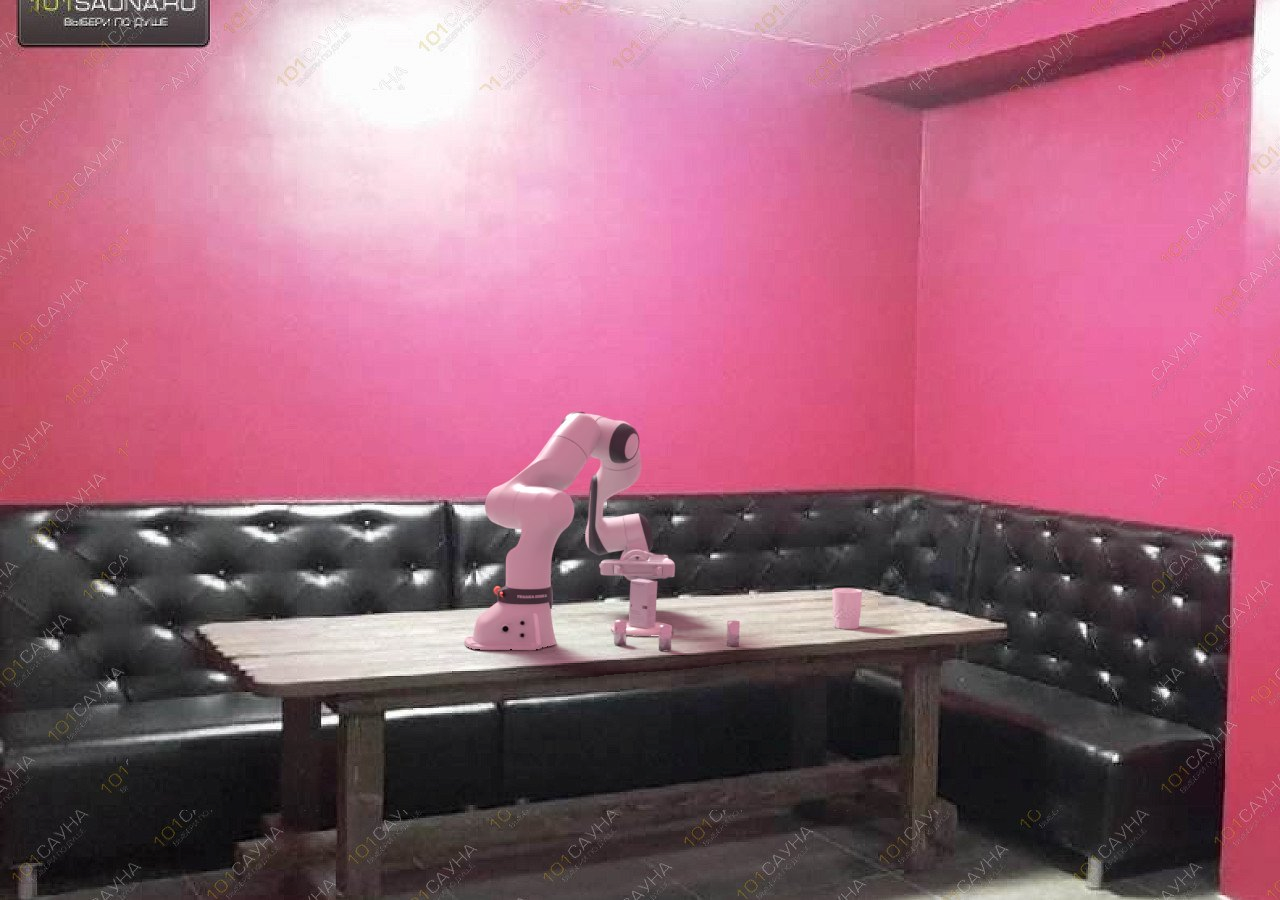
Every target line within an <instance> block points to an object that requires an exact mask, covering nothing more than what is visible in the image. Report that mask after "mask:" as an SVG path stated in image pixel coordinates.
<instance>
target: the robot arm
mask: <svg viewBox="0 0 1280 900" xmlns="http://www.w3.org/2000/svg"><path fill="white" fill-rule="evenodd" d="M559 425H560V426H559V427H557V428H556V430H555V431H554V432H553V434H552V435H551V437H550V438H549V439H548V440H547V443H545V444H544V446H543V447H542V449H541V451H540V452H539V453H538V455H537V456H536V457H535V458H534V460H533V461H532V462H531V463H529V465H527V466H526V467H525V468H524V469H523V470H522V471H519V473H518V474H517V475H515V476H514V477H512V478H511V479H509V480H508V481H506V482H503V484H500V485H498V486H495V487H493V488H492V489H491V490H490V491H489V492H488V494H487V496H486V498H485V502H484V503H485V504H484V509H485V515H486V516H487V518H488V520H490V521H491V522H492V523H494V524H496V525H498V526H501V527H502V528H506V529H512V530H513V529H514V530H521V532H520V538H519V541H518V543H517V544H516V546H515V547H513V548H511V549H510V550H509V551H508V552H507V555H506V557H505V585H504V586H502V587H500V586H498V585H497V586H495V587H494V588H493V593H494V594H495V595H496V598H497V601H496V603H494V604H493V605H492V606H490V607H489V608H487V610H485V611H483V613H481V614H480V615H479V616H477V618H476V620H475V623H474V628H473V635H469V636H466V637H465V638H464V642H463V643H465V644H464V645H465V647H466V648H468V647H469V649H471V648H472V650H475V649H480V650H479V651H537V650H536V649H538V650H540V649H543V648H548V647H551V646H554V645H556V644H557V639H556V637H555V632H554V626H553V620H552V619H553V618H552V607H553V605H554V604H553V602H554V601H553V597H554V595H553V586H552V585H551V583H552V582H551V581H552V578H551V577H552V576H551V575H552V573H551V572H552V558H553V552H554V548H555V545H556V543H557V541H558V539H559V538H560V535H562V533H563V532H565V530H566V529H567V528H569V526H570V525H571V523H572V522H573V520H574V515H575V505H574V502H573V499H572V497H571V496H570V494H568V493H567V492H564V491H565V490H566V489H568V488H569V487H570V486H572V484H573V483H574V482H575V480H576V479H577V477H578V476H579V474H581V471H582V470H583V468H584V467H585V465H586V463H587V462H588V460H589V459H590V457H591V458H593V459H596V460H599V461H600V465H599V467H598V470H597V472H596V473H595V474H594V475H592V477H591V479H590V484H589V493H588V506H587V507H588V508H587V510H588V511H587V521H586V528H585V531H584V532H585V535H584V536H585V537H584V538H585V544H586V546H587V549H588V550H589V551H590V552H592V553H593V554H595V555H597V556H602V555H606V554H610V553H613V552H614V553H615V552H620V551H622V553H621V555H620V557H619V559H603V560H602V561H601V562H600V563H599V565H598V567H599V568H600V575H602V576H617V577H618V576H624V578H625V579H626V580H628V581H630V582H631V580H635V579H646V580H657V579H658V580H659V579H660V580H662V579H668V578H674V577H675V572H676V565H675V564H676V563H675V562H674V561H673V560H672V559H671V558H669V556H668V555H667V554H663V553H662V554H661V553H654V552H651V550H652V548H653V546H654V541H653V540H654V539H653V533H652V529H651V525H650V523H649V521H648V519H647V518H646V516H644V515H643V514H641V513H633V514H632V513H631V514H625V515H620V516H619V515H618V516H614V517H609V518H608V517H607V518H605V517H603V516H604V514H603V513H604V504H605V502H606V501H607V500H608V499H610V498H611V497H612V496H615V495H616V494H618V493H620V492H622V491H625V490H627V489H629V488H630V487H631V486H633V485H634V484H635V483H636V482H637V481H638V479H640V476H641V473H642V455H641V450H640V436H639V433H638V432H637V430H636V428H634V427H633V426H632V424H630V423H628V422H627V421H625V420H614V419H611V418H608V417H606V416H603V415H598V414H591V413H586V412H584V411H573V412H570V413H568V414H567V415H566V416H564V418H563V420H562V421H561V423H560V424H559ZM547 646H548V647H547ZM542 647H543V648H542ZM510 649H512V650H510Z"/></svg>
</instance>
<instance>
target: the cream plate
mask: <svg viewBox="0 0 1280 900" xmlns="http://www.w3.org/2000/svg"><path fill="white" fill-rule="evenodd" d="M662 624H667V625H669V624H668V623H664V622H659V621H655V627H651V628H640V627H634V626H629V621H627V626H626V635H635V636H651V635H659V625H662ZM611 631H612V632H614V623H613V624H611V625H610V632H611ZM612 632H611V633H612ZM671 632H672V633H673V626H672V625H671Z"/></svg>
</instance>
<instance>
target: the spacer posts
mask: <svg viewBox="0 0 1280 900" xmlns="http://www.w3.org/2000/svg"><path fill="white" fill-rule="evenodd" d="M627 622H628V621H627V620H626V619H614V622H613V624H614V633H613V645H614V644H615V645H614V646H616V645H625V646H627V636H626V626H627ZM667 624H668V623H665V624H662V625H659V636H658V651H659V650H671V651H672V633H671V626H672V625H671V624H668V625H667ZM740 624H741V622H740V620H727V623H726V625H727V626H726V627H727V628H726V629H727V630H726V631H727V632H726V633H727V635H726V639H727V640H726V646H727V645H728V646H727V647H730V646H738V647H740V627H741V625H740Z"/></svg>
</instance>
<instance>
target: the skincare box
mask: <svg viewBox="0 0 1280 900" xmlns="http://www.w3.org/2000/svg"><path fill="white" fill-rule="evenodd" d="M629 590H630V591H629V606H628V607H629V609H628V612H629V613H628V622H629V626H634V627H640V628H651V627H655V622H656V620H657V619H656V616H657V615H656V614H657V613H656V612H657V599H658V598H657V595H658V593H657V592H658V581H657V580H653V579H650V580H646V579H635V580H631V581H630V588H629Z"/></svg>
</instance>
